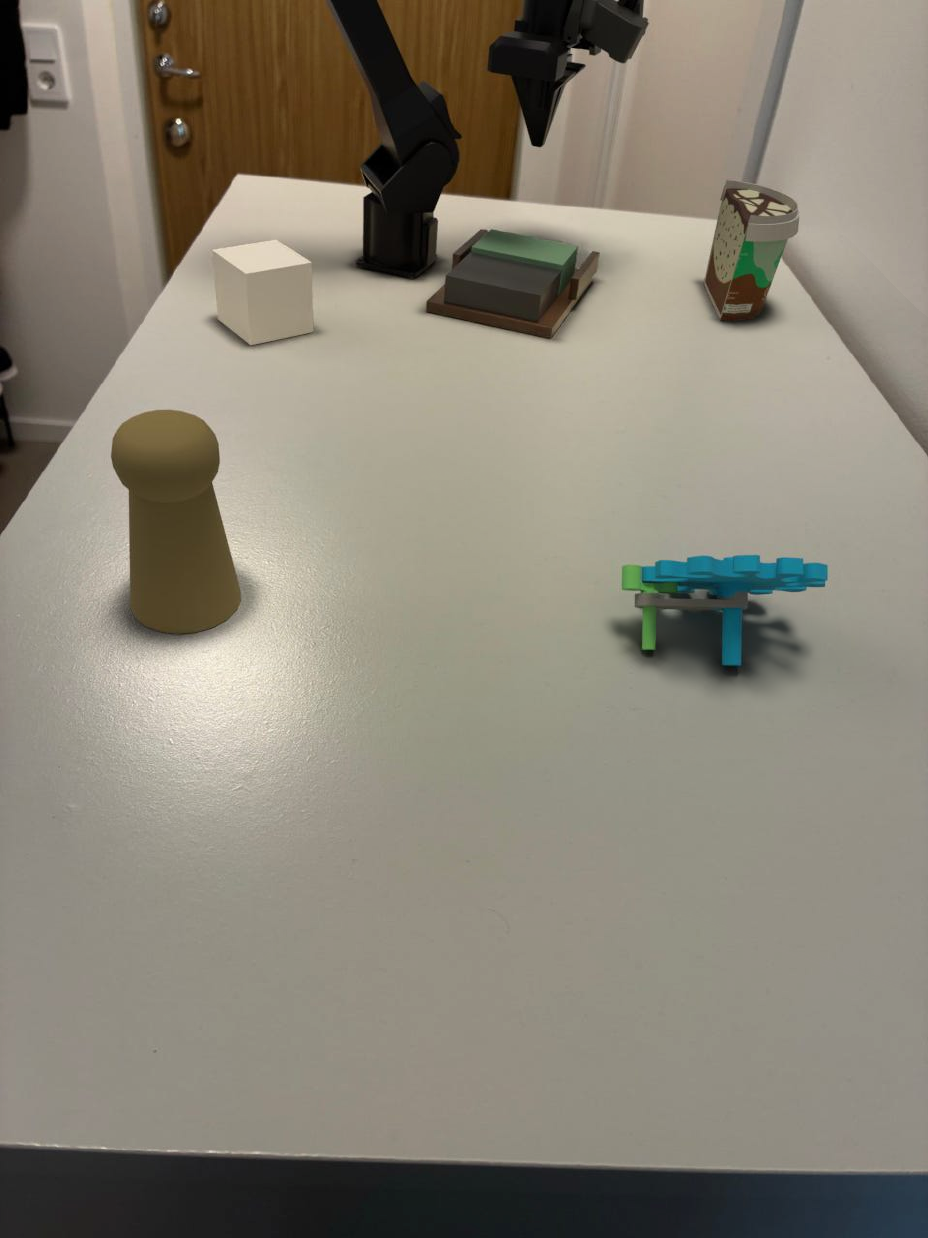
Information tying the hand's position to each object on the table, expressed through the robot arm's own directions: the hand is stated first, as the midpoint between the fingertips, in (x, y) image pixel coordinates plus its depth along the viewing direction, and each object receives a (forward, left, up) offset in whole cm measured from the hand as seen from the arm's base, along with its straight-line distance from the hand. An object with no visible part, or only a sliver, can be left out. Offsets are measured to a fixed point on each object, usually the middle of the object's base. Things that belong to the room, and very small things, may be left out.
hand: (537, 145), depth 93 cm
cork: (-1, -64, -11) cm, 64 cm away
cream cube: (-15, -29, -11) cm, 34 cm away
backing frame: (+2, -11, -11) cm, 15 cm away
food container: (+23, -1, -11) cm, 26 cm away
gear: (+27, -54, -11) cm, 61 cm away
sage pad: (+2, -8, -10) cm, 13 cm away
